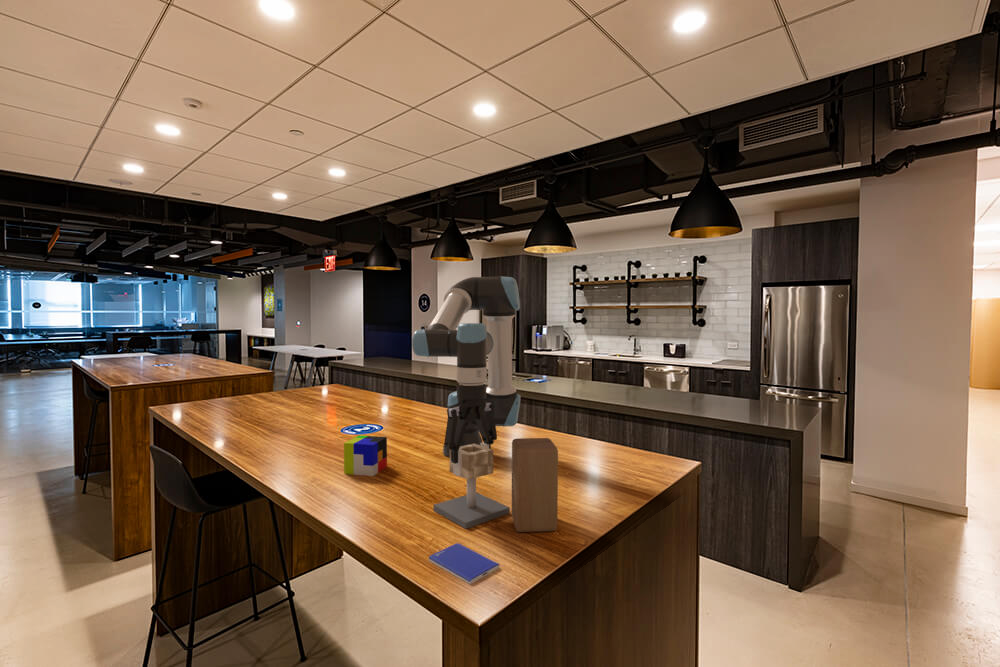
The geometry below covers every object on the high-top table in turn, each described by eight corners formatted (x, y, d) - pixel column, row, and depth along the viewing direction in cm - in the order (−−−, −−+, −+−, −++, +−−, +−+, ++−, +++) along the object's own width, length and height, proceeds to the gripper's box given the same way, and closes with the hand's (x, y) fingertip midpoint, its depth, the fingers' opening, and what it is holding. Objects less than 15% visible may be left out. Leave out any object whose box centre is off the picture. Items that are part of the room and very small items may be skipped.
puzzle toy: (373, 476, 149) (372, 444, 149) (344, 474, 151) (343, 443, 151) (386, 466, 159) (386, 437, 158) (359, 464, 161) (359, 435, 160)
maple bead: (474, 465, 127) (474, 443, 127) (493, 473, 121) (493, 449, 121) (449, 471, 122) (449, 448, 121) (468, 479, 116) (468, 455, 115)
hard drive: (428, 555, 97) (469, 579, 89) (458, 542, 103) (499, 562, 95) (428, 563, 97) (469, 587, 89) (458, 549, 103) (499, 570, 95)
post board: (476, 497, 132) (476, 461, 131) (509, 513, 121) (509, 473, 121) (433, 510, 122) (433, 471, 122) (465, 529, 112) (465, 486, 111)
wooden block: (511, 515, 119) (511, 437, 119) (550, 514, 120) (550, 436, 120) (515, 534, 109) (516, 448, 109) (558, 532, 110) (558, 447, 110)
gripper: (446, 388, 111) (445, 484, 112) (511, 381, 125) (511, 467, 125) (428, 385, 117) (428, 476, 117) (493, 378, 130) (493, 460, 131)
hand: (471, 471), depth 121 cm, fingers closed on maple bead, 8 cm apart
